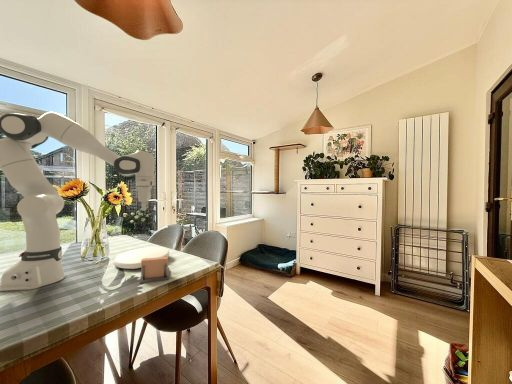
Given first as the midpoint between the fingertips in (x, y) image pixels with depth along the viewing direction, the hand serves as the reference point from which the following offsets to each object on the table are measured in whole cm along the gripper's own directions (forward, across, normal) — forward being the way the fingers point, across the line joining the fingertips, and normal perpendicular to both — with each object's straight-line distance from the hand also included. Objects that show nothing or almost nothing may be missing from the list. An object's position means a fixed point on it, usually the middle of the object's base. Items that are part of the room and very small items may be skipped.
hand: (145, 209), depth 117 cm
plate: (+31, -11, -2) cm, 33 cm away
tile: (+29, +16, +6) cm, 34 cm away
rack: (+30, +13, +6) cm, 34 cm away
